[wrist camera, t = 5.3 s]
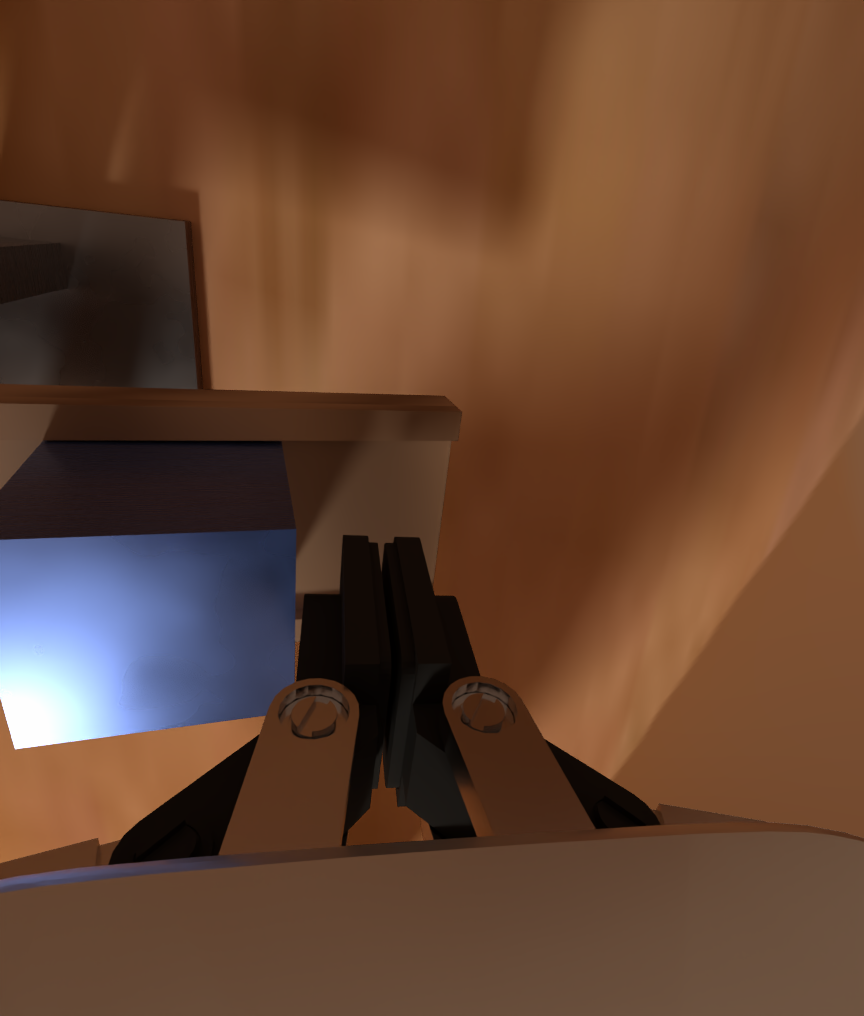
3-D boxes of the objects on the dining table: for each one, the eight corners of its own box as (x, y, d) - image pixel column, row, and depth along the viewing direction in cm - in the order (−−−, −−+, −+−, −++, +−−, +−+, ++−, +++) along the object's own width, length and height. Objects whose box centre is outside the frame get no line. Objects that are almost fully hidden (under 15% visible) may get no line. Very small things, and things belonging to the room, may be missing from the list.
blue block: (280, 437, 14) (296, 528, 10) (280, 584, 16) (294, 711, 12) (48, 434, 12) (-46, 541, 8) (79, 597, 14) (15, 748, 10)
